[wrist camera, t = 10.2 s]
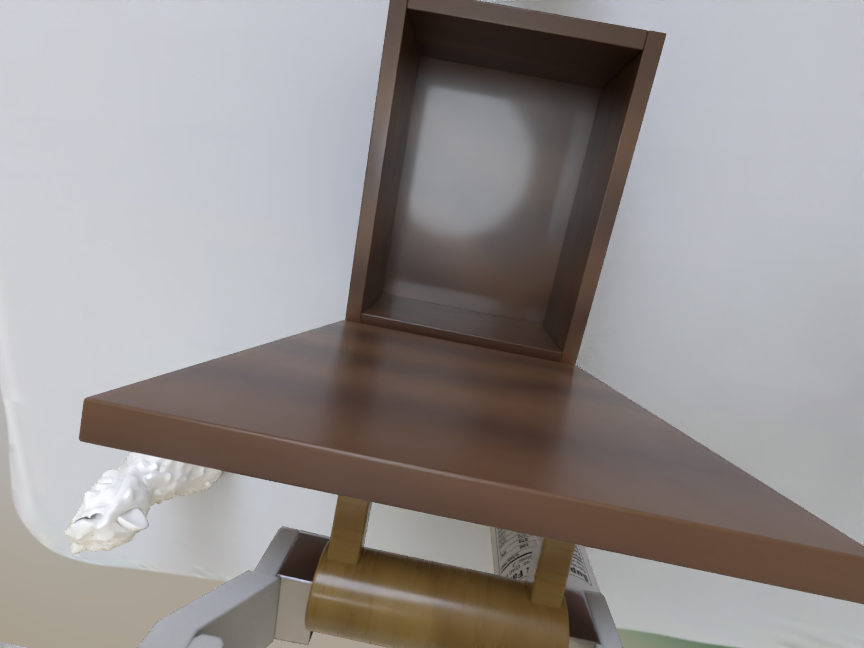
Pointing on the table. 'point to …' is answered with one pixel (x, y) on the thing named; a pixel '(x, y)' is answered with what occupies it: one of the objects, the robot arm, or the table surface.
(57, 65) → the table surface
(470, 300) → the chest
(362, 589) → the chest lid
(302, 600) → the robot arm
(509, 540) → the energy drink can
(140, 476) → the white creature statuette
